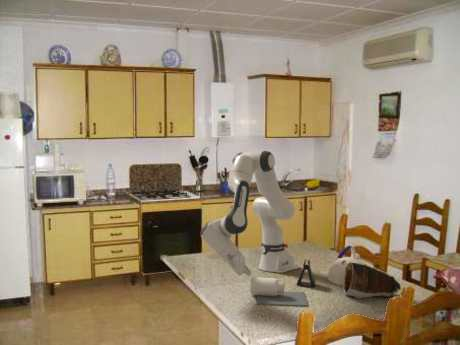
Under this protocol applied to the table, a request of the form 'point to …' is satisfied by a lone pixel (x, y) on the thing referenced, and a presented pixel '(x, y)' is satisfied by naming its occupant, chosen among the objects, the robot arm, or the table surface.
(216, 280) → the table surface
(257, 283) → the pill bottle
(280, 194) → the robot arm
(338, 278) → the kettle
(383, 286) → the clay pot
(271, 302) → the mat
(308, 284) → the phone stand
